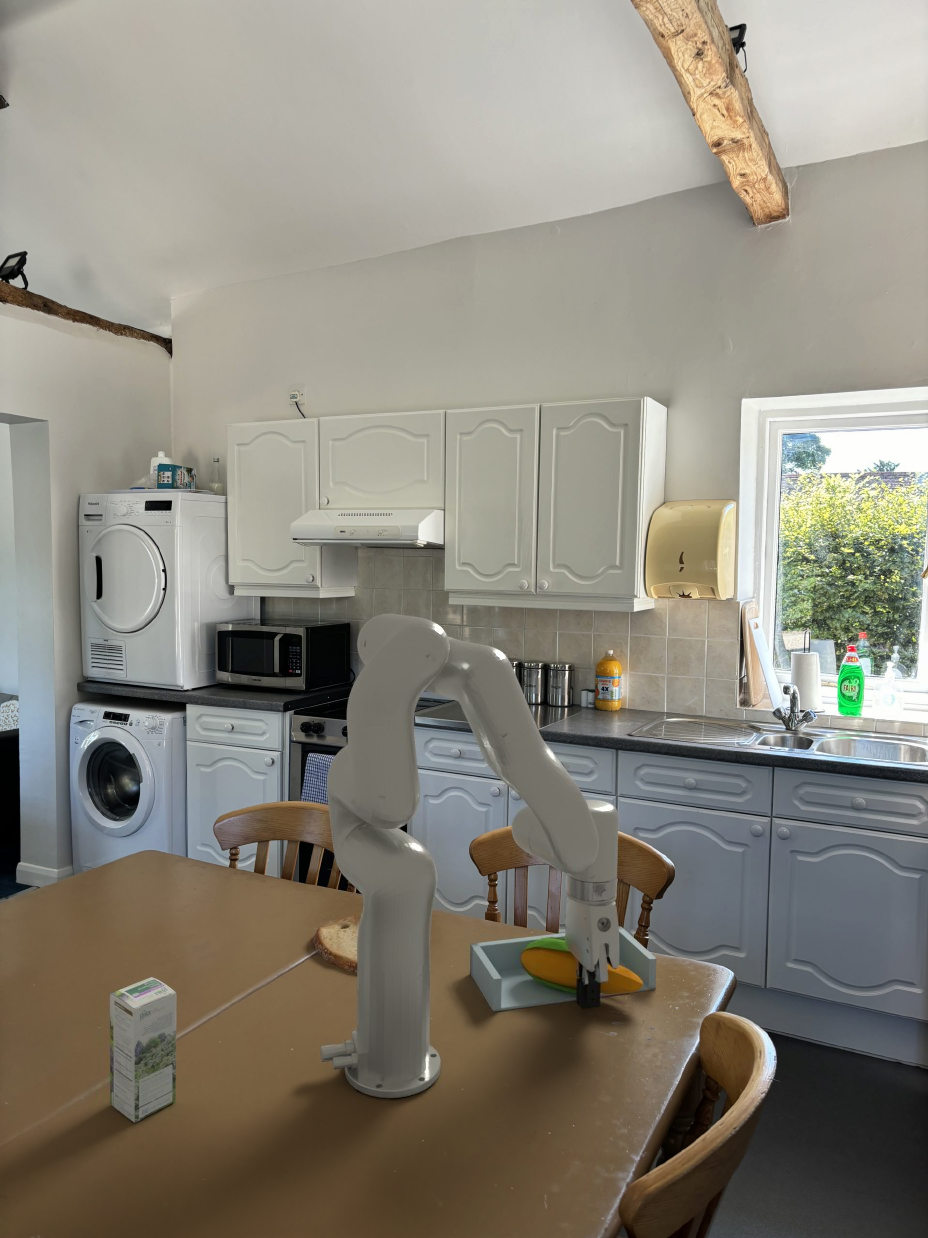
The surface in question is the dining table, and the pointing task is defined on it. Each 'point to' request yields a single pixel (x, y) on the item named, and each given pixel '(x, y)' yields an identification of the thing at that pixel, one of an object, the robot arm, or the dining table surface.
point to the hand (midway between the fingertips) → (588, 1005)
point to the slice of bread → (339, 942)
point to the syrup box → (142, 1048)
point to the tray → (514, 988)
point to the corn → (570, 968)
